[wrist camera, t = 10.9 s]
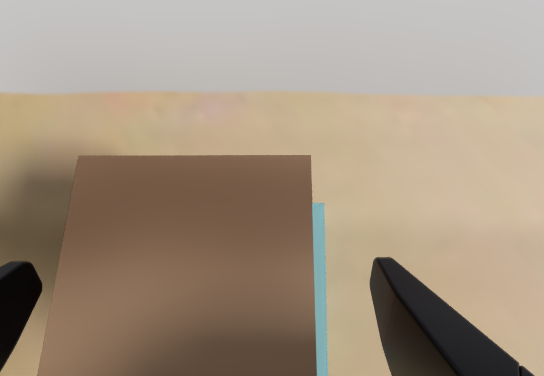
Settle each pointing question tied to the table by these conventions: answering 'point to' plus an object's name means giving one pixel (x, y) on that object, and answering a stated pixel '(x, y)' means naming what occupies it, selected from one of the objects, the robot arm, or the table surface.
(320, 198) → the table surface
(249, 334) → the walnut block
